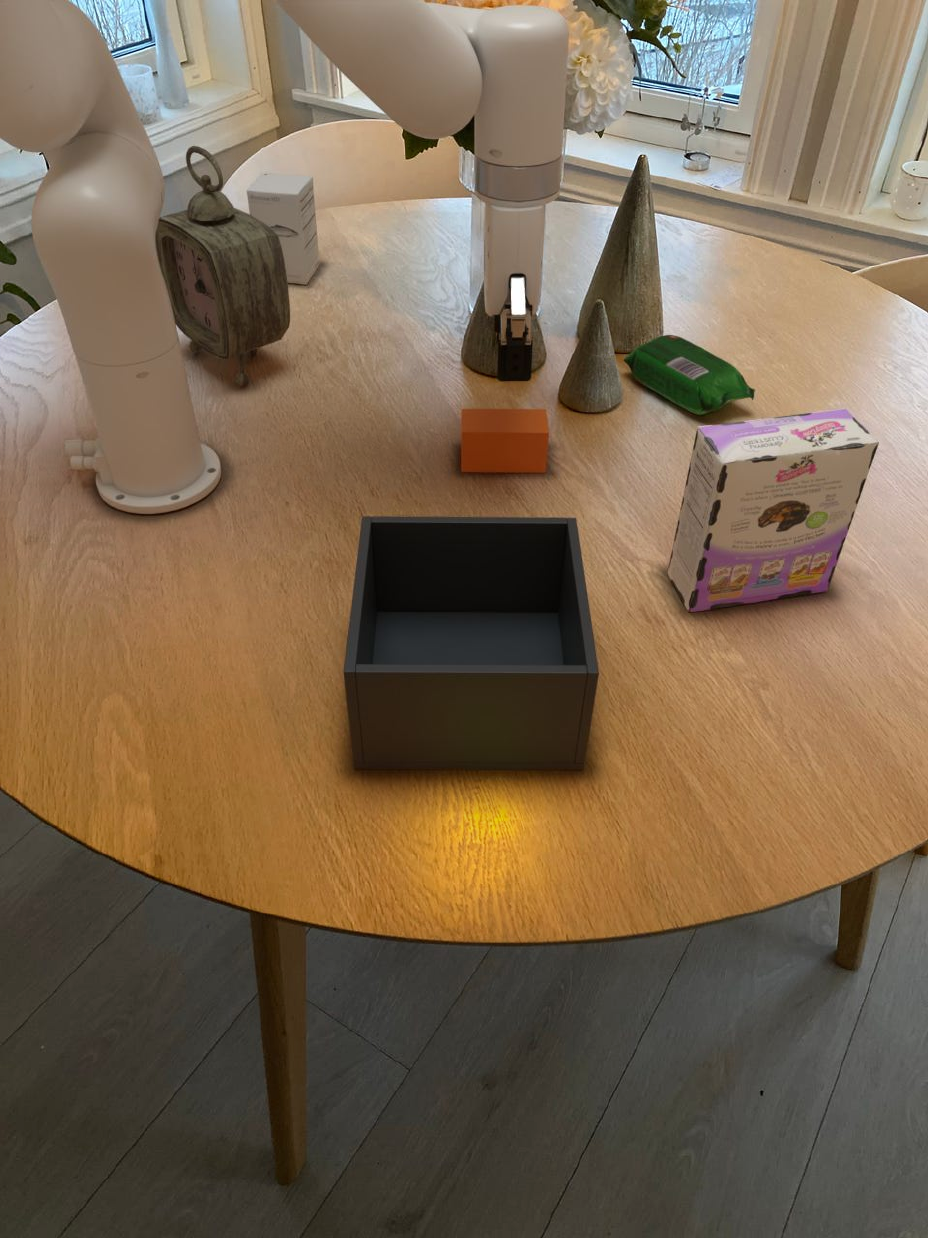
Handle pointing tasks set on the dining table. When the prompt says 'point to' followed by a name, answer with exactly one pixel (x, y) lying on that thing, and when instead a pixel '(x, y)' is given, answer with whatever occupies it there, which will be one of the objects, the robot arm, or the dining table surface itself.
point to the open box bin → (470, 645)
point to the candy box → (768, 507)
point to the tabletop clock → (223, 274)
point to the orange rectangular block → (504, 440)
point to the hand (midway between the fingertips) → (512, 354)
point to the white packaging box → (289, 219)
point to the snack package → (687, 374)
